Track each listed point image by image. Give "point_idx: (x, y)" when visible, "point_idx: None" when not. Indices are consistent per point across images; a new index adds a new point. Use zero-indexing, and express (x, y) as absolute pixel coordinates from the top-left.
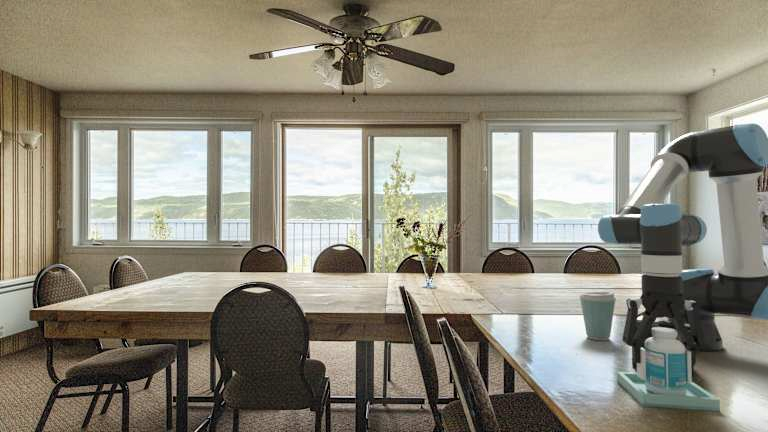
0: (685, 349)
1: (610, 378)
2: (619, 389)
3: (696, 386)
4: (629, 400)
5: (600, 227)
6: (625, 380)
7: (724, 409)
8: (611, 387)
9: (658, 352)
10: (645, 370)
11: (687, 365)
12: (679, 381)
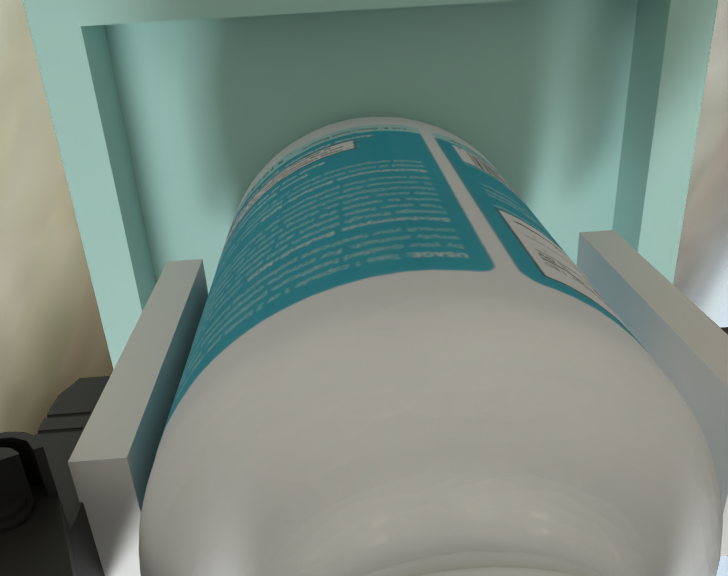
0: (119, 547)
1: None
2: (676, 281)
3: (122, 296)
4: (719, 57)
5: None
6: None
7: (5, 28)
8: (716, 308)
9: (612, 319)
10: (619, 270)
11: (171, 342)
12: (315, 163)
